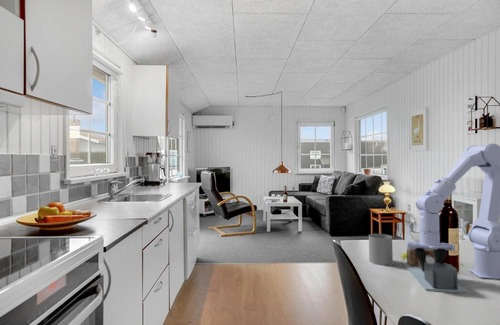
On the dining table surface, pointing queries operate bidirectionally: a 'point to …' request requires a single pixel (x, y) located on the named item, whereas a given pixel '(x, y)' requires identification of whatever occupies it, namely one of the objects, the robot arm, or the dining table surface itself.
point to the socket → (413, 257)
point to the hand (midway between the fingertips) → (430, 271)
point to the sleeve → (441, 276)
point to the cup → (380, 249)
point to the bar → (429, 260)
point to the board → (421, 279)
